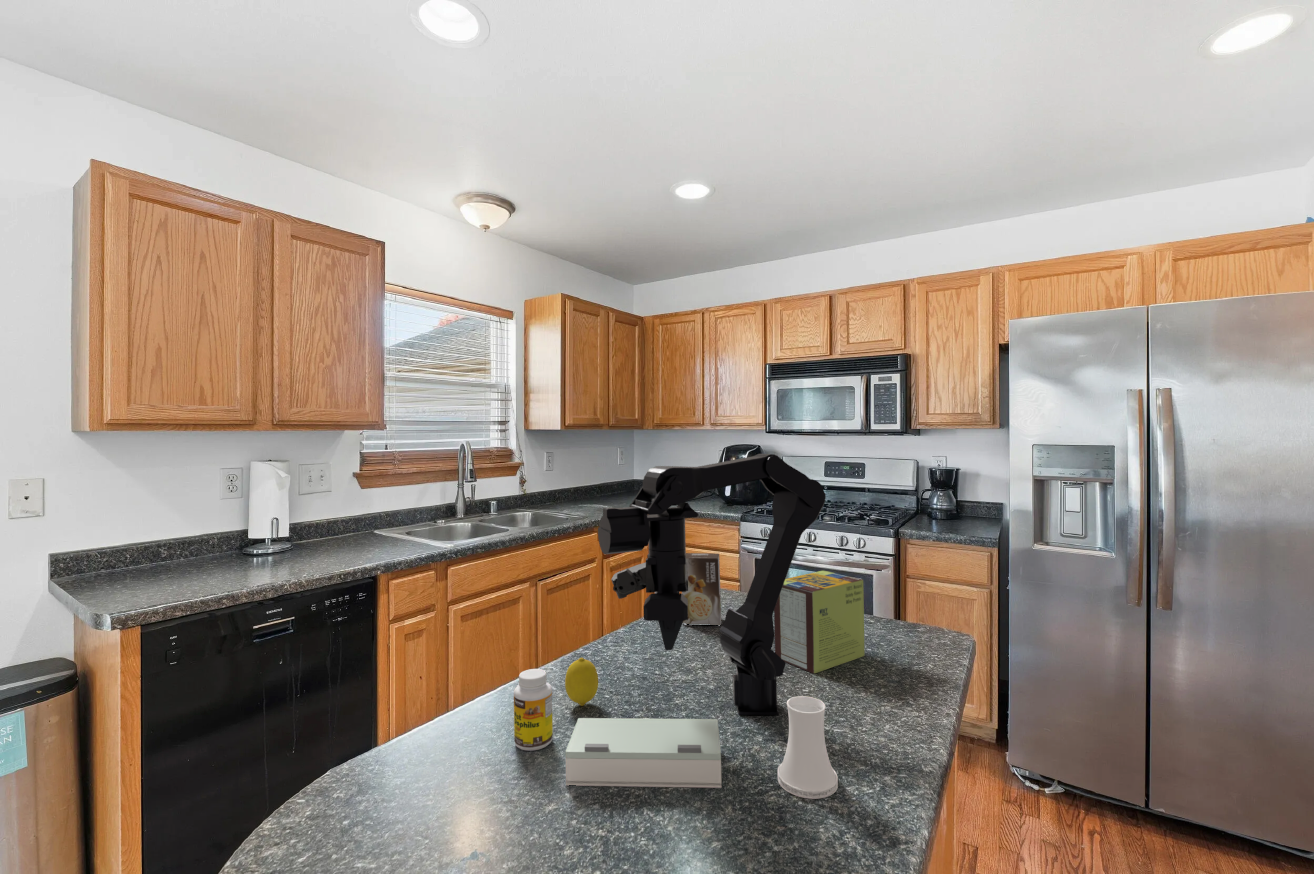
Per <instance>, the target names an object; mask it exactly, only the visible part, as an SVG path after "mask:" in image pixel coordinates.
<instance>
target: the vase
mask: <svg viewBox="0 0 1314 874" xmlns="http://www.w3.org/2000/svg"><path fill="white" fill-rule="evenodd" d="M786 707H787V713H788V714H787V715H788V739H787V745H786V751H785V754H784V756H783V760H782V762H781V763H780V764H779V765H778V767H777V782H778V784H779V785H780V787H781V788H782V789H783V790H785V791H786V792H787V793H789V794H791V795H794V796H796V797H800V798H804V799H808V800H809V799H810V800H815V799H816V800H817V799H825V798H828V797H831V796H832V795H833V794H835V793H836V792H837V790H838V786H839V783H838V781H839V779H838V778H839V777H838V774H837V772H836V771H835V769H834V768H833V767H832V763H831V761H830V758H829V754H828V750H827V746H826V739H825V710H826V704H825V702H824V701H822V700H821V699H819V698H816V697H812V696H808V695H807V696H806V695H799V696H792V697H790V698H789V699H787V701H786Z"/></svg>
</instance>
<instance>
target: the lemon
mask: <svg viewBox="0 0 1314 874" xmlns="http://www.w3.org/2000/svg"><path fill="white" fill-rule="evenodd" d="M565 673H566V674H565V678H564V679H565V681H564V687H565V692H566V695H567V696H568V698H569V700H571V701H572V702H574V703H576V704H578V705H579V706H581V707H583V706H585V705H586V703H589V702H590V701H592V700H593V698H595V696H596V694H597V692H598V688H599V675H598V670H597V668H596V666H595V664H594V663H593V662H592V661H590V660H588V659H585V658H584V657H579V658H578V659H577V660H574V661H573V662H572V663H571V664H570V665H569V666H568V668H567V670H566V672H565Z"/></svg>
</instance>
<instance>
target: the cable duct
mask: <svg viewBox="0 0 1314 874" xmlns="http://www.w3.org/2000/svg"><path fill="white" fill-rule="evenodd" d="M569 785H576V787H580V786H581V787H583V786H584V787H585V786H586V787H588V786H589V787H639V788H640V787H643V788H645V787H652V788H666V787H667V788H712V789H713V788H719V789H720V788H722V759H721V760H692V759H607V758H565V786H569Z"/></svg>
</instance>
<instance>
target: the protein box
mask: <svg viewBox="0 0 1314 874" xmlns="http://www.w3.org/2000/svg"><path fill="white" fill-rule="evenodd" d="M864 593H865V592H864V579H863V578H858V577H854V576H848V575H844V574H840V573H836V572H832V571H827V570H819V571H816V572H811V573H805V574H801V575H796V576H792V577H788V578H787V577H786V579H785V581H784V584H783V587H782V590H781V593H780V595H779V598H778V601H777V604H776V606H775V609H774V612H773V626H774V652H775V653H776V654H777V655H778V656H779V657H780V658H781V659H782V660H783V661H784V662H785V663H787V664H789V665H792V666H794V667H796V668H799V669H801V670H804V671H806V672H809V673H811V674H814V675H815V674H817V673H820V672H824V671H826V670H828V669H831V668H833V667H838V666H840V665H843V664H846V663H849V662H851V661H854V660H857V659H860V658H862V657H865V656H866V655H865V654H866V653H865V607H864V606H865V605H864V603H865V601H864V599H865V597H864V595H865V594H864Z"/></svg>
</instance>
